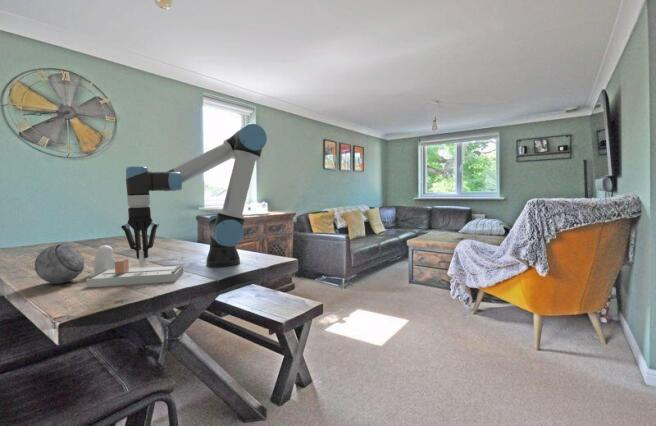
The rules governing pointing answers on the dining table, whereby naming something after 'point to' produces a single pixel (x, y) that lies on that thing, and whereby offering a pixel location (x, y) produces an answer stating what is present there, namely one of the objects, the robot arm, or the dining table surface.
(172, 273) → the board
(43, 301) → the dining table surface
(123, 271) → the fader knob
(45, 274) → the grey rounded lump
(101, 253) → the figurine
